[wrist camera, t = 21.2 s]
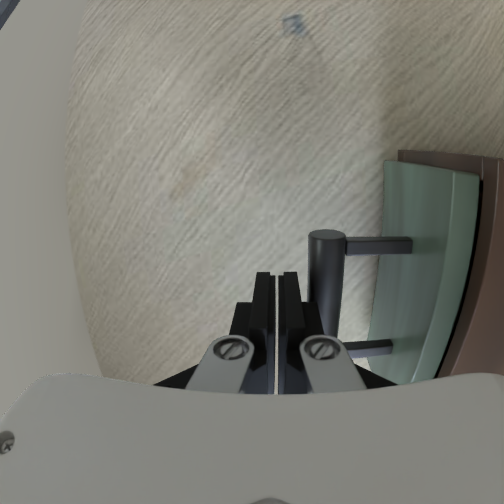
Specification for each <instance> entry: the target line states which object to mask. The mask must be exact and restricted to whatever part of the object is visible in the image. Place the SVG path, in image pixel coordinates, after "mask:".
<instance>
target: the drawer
mask: <svg viewBox="0 0 504 504" xmlns="http://www.w3.org/2000/svg"><path fill="white" fill-rule="evenodd" d="M482 196H483V184H482V183H480V176H479V175H478V174H475V173H470V172H465V171H460V170H455V169H449V168H443V167H437V166H431V165H425V164H418V163H410V162H402V161H388V160H385V161H384V198H383V219H382V234H381V237H346V235H345V234H344V233H343V232H340V231H337V230H329V229H322V230H315V231H312V232H310V233H309V235H308V289H307V302H317V305H318V309H319V313H320V317H321V321H322V325H323V330H324V334H325V335H330V336H333V337H336V338H337V335H338V327H339V318H340V309H341V299H342V288H343V276H344V262H345V254H346V256H366V255H380V257H379V266H378V275H377V282H376V290H375V297H374V303H373V310H372V316H371V322H370V327H369V333H368V338H367V341H357V342H343V344H344V346H345V347H346V349H347V351H348V353H349V355H350V357H351V359H352V358H363V357H367V360H368V363H369V365H370V368H371V371H372V372H373V373H375V374H377V375H379V376H381V377H383V378H385V379H387V380H389V381H392V382H394V383H396V384H398V385H403V384H409V383H414V382H420V381H425V380H431V379H437V377H438V374H439V372H440V370H441V367H442V365H443V362H444V360H445V357H446V355H447V352H448V350H449V347H450V344H451V341H452V339H453V336H454V333H455V330H456V327H457V324H458V321H459V317H460V314H461V311H462V307H463V304H464V300H465V296H466V293H467V289H468V285H469V280H470V276H471V271H472V267H473V262H474V257H475V251H476V246H477V239H478V233H479V225H480V217H481V208H482Z"/></svg>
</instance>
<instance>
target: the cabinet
mask: <svg viewBox="0 0 504 504" xmlns="http://www.w3.org/2000/svg"><path fill="white" fill-rule="evenodd" d="M398 161H402V162H410V163H418V164H425V165H431V166H437V167H443V168H449V169H455V170H460V171H465V172H470V173H475V174H478V175H479V176H480V183H482V184H483V196H482V208H481V217H480V225H479V233H478V239H477V246H476V251H475V257H474V262H473V267H472V271H471V276H470V280H469V285H468V289H467V293H466V296H465V300H464V304H463V307H462V311H461V314H460V317H459V321H458V324H457V327H456V330H455V333H454V336H453V339H452V341H451V344H450V347H449V350H448V352H447V355H446V357H445V360H444V362H443V365H442V367H441V370H440V372H439V374H438V377H437V378H442V377H447V376H452V375H459V374H466V373H493V374H499V375H503V376H504V159H500V158H494V157H487V156H486V157H485V156H479V155H470V154H460V153H448V152H434V151H416V150H398Z"/></svg>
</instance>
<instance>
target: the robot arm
mask: <svg viewBox="0 0 504 504" xmlns="http://www.w3.org/2000/svg"><path fill="white" fill-rule="evenodd" d="M0 1H1V0H0ZM278 289H279V307H278V395H268V394H274V382H275V336H276V302H275V275H273V276H270V272H257V275H256V281H255V288H254V294H253V301H252V302H237V305H236V309H235V313H234V317H233V321H232V325H231V329H230V333H229V335H227V336H223V337H220V338H217V339H216V340H214V341H213V342H212V343H211V344H210V345H209V347H208V349H207V351H206V352H205V354H204V356H203V358H202V359H201V361H200V363H199V364H197V365H195V366H193V367H191V368H189V369H187V370H185V371H183V372H180V373H178V374H176V375H174V376H172V377H170V378H167V379H165V380H163V381H161V382H158V383H156V384H154V385H147V384H141V383H135V382H129V381H123V380H117V379H111V378H106V377H100V376H94V375H86V374H71V373H66V374H54V375H48V376H45V377H42V378H40V379H38V380H36V381H35V382H34V383H32V384H31V385H30V386H29V387H28V388H27V389H26V390H25V391H24V392H23V393H22V394H21V395H20V396H19V397H18V398H17V399H16V401H15V402H14V403H13V404H12V405H11V406H10V408H9V409H8V410H7V412H6V413H5V414H4V415H3V417H2V418H1V419H0V504H504V376H503V375H499V374H493V373H466V374H459V375H452V376H447V377H442V378H437V379H431V380H425V381H420V382H414V383H409V384H403V385H398V384H396V383H394V382H392V381H389V380H387V379H385V378H383V377H381V376H379V375H377V374H375V373H373V372H371V371H368V370H366V369H364V368H362V367H360V366H358V365H356V364H354V362H353V360H352V359H351V357H350V355H349V353H348V351H347V349H346V347H345V346H344V344H343V343H342V342H341V341H340V340H339V339H337V338H336V337H333V336H330V335H325V334H324V330H323V325H322V321H321V317H320V313H319V309H318V305H317V302H301V295H300V289H299V282H298V276H297V272H284V275H279V276H278Z"/></svg>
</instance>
